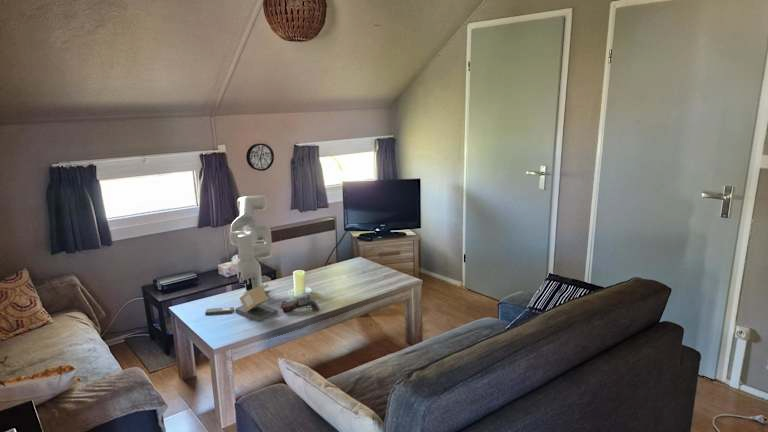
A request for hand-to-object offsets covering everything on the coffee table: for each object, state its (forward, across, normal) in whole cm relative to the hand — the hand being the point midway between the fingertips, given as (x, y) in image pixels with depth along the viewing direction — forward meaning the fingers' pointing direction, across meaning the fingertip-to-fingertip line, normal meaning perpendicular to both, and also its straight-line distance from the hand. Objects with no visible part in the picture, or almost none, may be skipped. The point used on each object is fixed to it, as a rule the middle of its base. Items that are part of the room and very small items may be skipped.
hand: (249, 290), depth 257 cm
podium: (+13, -2, +1) cm, 14 cm away
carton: (+8, -1, -2) cm, 8 cm away
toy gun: (+14, -18, +19) cm, 29 cm away
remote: (+14, +8, -16) cm, 23 cm away
